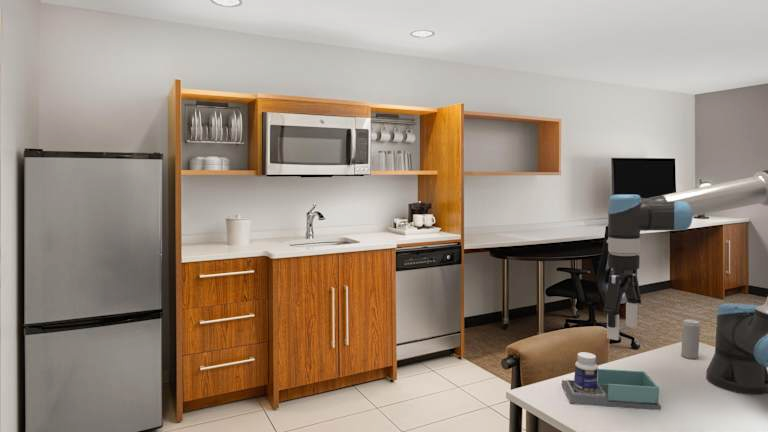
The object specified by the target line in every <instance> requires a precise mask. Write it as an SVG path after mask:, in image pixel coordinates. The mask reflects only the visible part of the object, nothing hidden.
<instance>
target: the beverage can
mask: <svg viewBox="0 0 768 432" xmlns="http://www.w3.org/2000/svg"><path fill="white" fill-rule="evenodd" d="M700 323H701V322H700V321H698V320H696V319H690V318H689V319H687V318H686V319H683V322H682V331H681V356H682V357H683V358H685V359H688V360H697V359H698V358H699V351H700V333H701V324H700Z"/></svg>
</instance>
